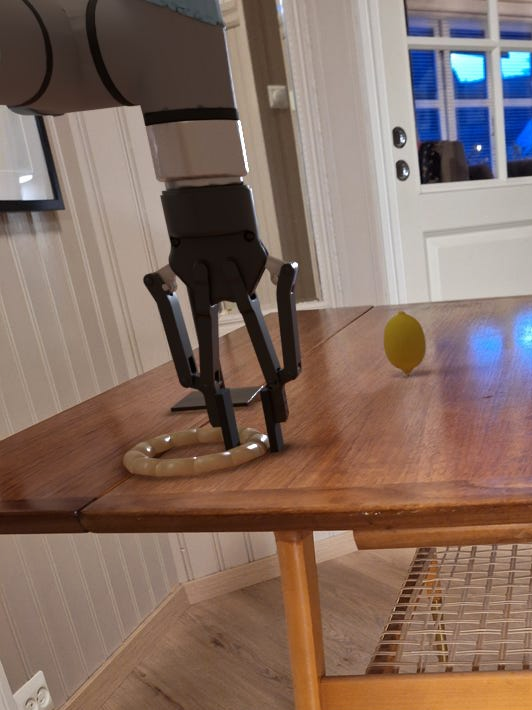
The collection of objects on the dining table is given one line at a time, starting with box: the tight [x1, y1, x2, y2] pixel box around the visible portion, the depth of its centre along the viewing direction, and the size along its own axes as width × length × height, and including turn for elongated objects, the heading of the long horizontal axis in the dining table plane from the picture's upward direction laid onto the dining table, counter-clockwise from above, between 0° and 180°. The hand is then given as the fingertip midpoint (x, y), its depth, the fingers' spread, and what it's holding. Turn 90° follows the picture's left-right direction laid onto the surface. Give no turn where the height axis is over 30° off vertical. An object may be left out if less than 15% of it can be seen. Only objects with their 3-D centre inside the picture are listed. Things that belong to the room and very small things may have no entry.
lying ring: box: [122, 426, 270, 477], centre depth 83 cm, size 13×13×2 cm
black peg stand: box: [170, 285, 264, 413], centre depth 101 cm, size 9×9×14 cm
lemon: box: [383, 310, 427, 375], centre depth 114 cm, size 6×6×8 cm
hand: (257, 457), depth 83 cm, fingers open, 3 cm apart
